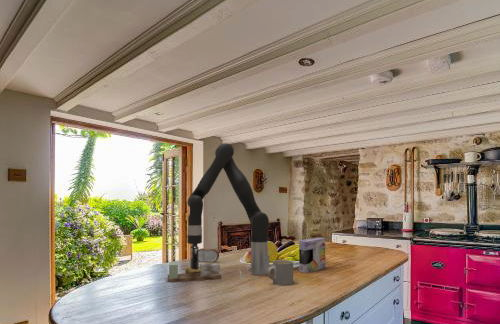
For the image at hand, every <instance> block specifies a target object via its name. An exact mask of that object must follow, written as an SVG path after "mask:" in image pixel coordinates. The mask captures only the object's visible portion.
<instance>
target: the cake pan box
mask: <svg viewBox="0 0 500 324" xmlns="http://www.w3.org/2000/svg"><path fill="white" fill-rule="evenodd" d="M298 254H299V255H298V258H299V261H298V262H299V264H298V265H299V269H298V271H299V273H302V274H308V273H312V272H315V271H316V272H317V271H321V270H324V269H326V238H325V237H319V236H318V237H315V238H307V239H300V240H299V241H298Z"/></svg>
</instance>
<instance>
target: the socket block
mask: <svg viewBox="0 0 500 324" xmlns="http://www.w3.org/2000/svg"><path fill="white" fill-rule="evenodd" d="M178 274H179V263H178V261H170V262H168V275H169V279H173V278H178Z"/></svg>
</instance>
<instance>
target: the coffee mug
mask: <svg viewBox="0 0 500 324" xmlns="http://www.w3.org/2000/svg"><path fill="white" fill-rule="evenodd" d="M271 272H272V275H271ZM266 276H267V277H268V279H270V280H271V281H272V283H273V284H274V285H278V286H290V285H293V284H294V262H293V260H291V259H290V260H288V259H276V260H273V261H272V266H269V268H268V271H267V275H266Z"/></svg>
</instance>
